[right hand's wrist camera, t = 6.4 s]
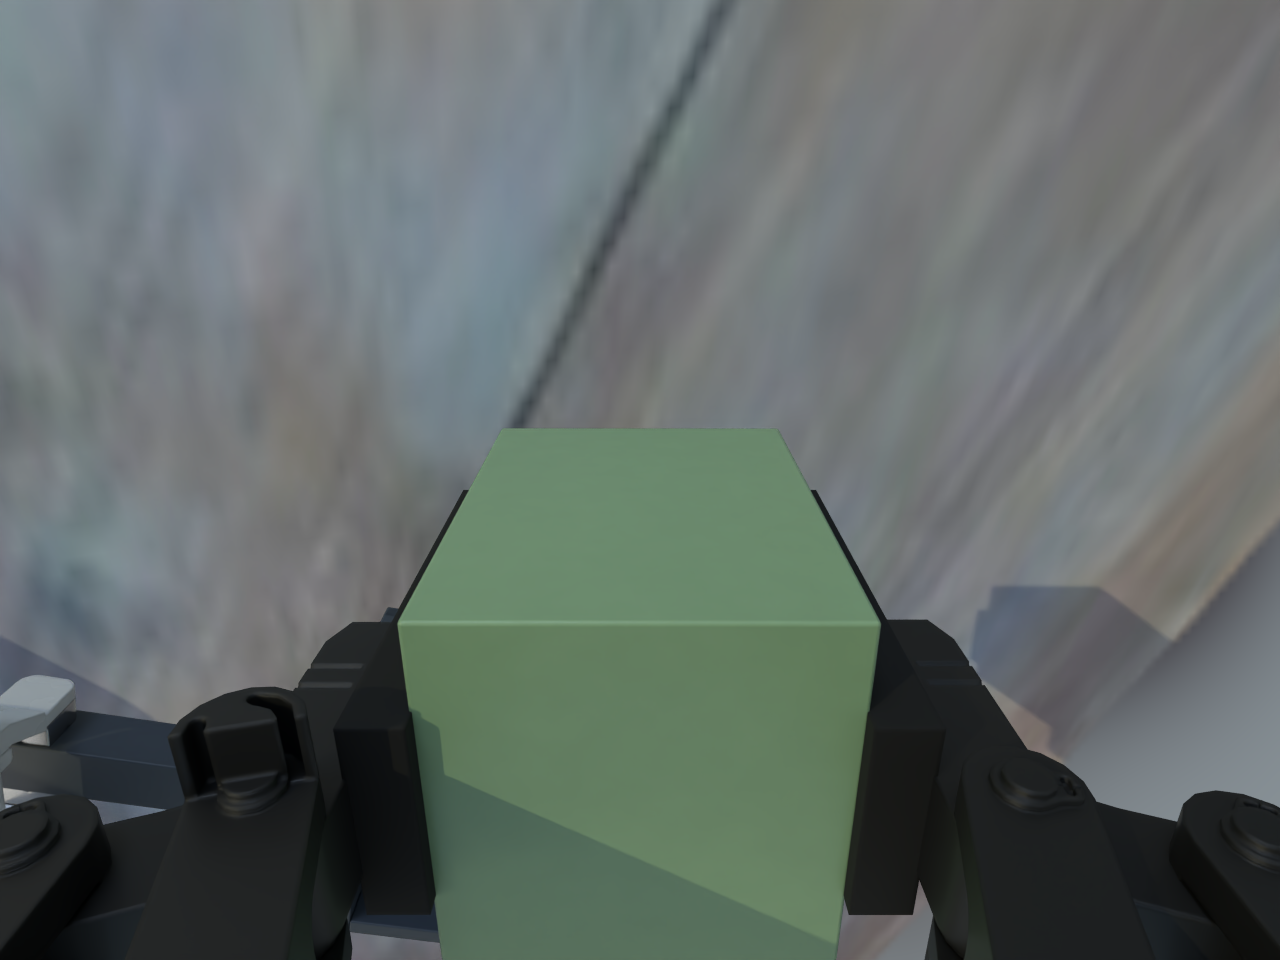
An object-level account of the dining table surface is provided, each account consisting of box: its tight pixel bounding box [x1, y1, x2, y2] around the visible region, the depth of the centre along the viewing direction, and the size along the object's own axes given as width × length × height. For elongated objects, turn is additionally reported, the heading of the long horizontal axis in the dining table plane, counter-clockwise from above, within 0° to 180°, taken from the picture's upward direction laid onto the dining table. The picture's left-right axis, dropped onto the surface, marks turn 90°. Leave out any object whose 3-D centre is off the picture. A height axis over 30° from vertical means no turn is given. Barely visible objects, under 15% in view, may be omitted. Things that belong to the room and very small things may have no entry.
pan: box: [1, 607, 440, 943], centre depth 29 cm, size 25×12×4 cm, turn 78°
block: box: [398, 429, 881, 960], centre depth 12 cm, size 5×5×6 cm
